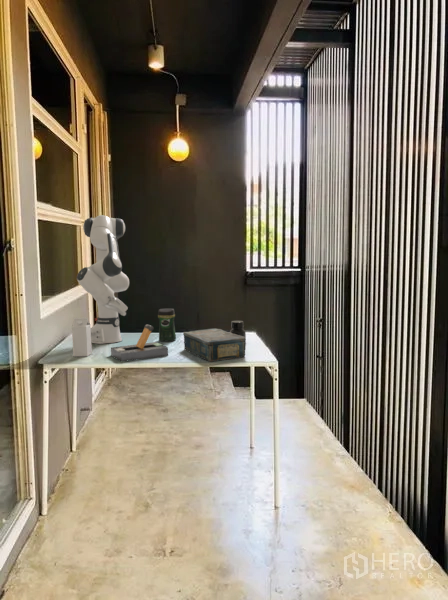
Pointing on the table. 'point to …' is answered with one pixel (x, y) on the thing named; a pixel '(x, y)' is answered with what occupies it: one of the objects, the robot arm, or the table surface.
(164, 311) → the coffee jar
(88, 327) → the milk carton
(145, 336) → the lever
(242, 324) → the ink bottle
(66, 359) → the table surface
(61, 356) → the table surface
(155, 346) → the breaker box
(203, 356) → the metal box
